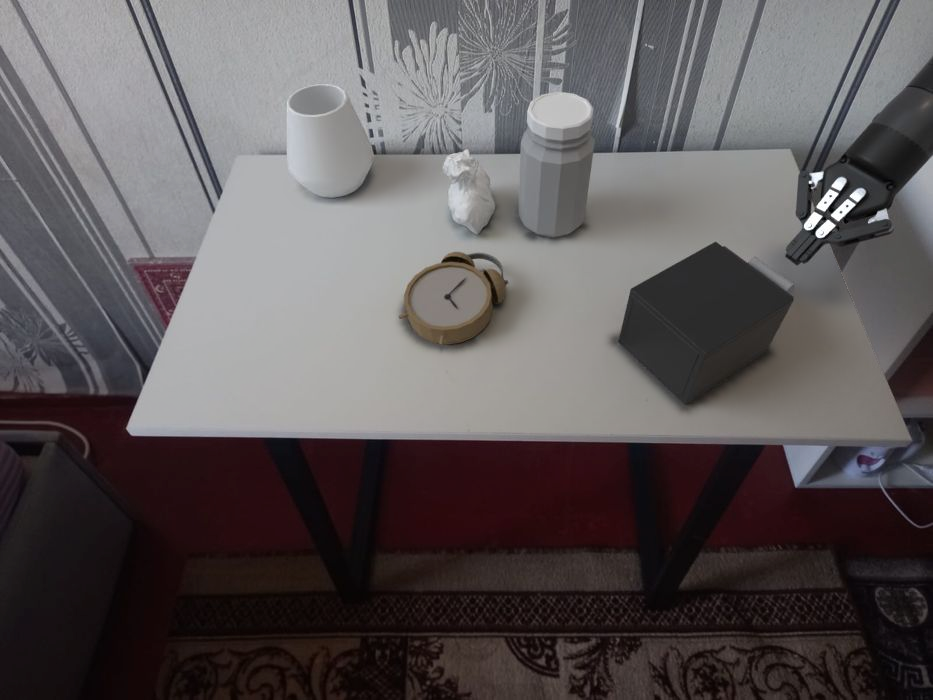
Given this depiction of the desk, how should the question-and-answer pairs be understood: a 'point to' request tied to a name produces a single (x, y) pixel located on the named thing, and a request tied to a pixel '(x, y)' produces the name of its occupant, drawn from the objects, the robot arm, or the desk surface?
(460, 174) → the white tied bag
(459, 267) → the alarm clock
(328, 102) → the white vase
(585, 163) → the jar
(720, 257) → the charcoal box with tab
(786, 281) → the drawer
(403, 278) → the desk surface
